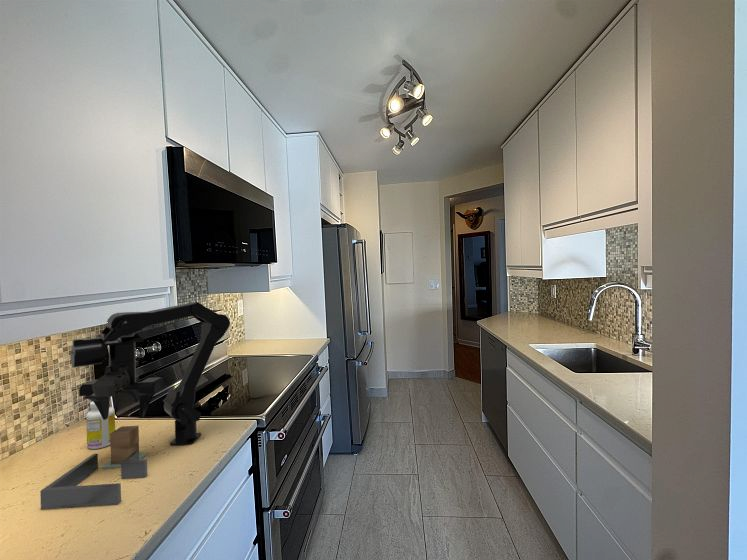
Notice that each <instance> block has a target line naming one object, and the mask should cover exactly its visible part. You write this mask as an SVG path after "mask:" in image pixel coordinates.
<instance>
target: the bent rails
mask: <svg viewBox="0 0 747 560" xmlns="http://www.w3.org/2000/svg"><path fill="white" fill-rule="evenodd" d="M139 453H140V450H139V451H134V452H133V453H132V454H131V455H130V456H128V457H127V458H126V459H125V460H124V461H122V462H121V468H120V479H121V480H124V479H125V480H127V479H130V480H131V479H144V478H146V477H147V476H148V459H146V458H145V459H144V458H142V459H141V460H139ZM97 470H99V453H92V454H91V455H89V456H88V457H86V459H84V460H82V461H81V462H80V463H78V464H77V465H75V466H74V467H72V468H71V469H70V470H68V471H67V472H65V473H64V474H62V475H60V476H59V477H58V478H56V479H55V480H53V481H52V482H51V483H49V484H48V485H46V486H45V487H44V488H42V489H41V490H40V492H39V493H40V494H39V495H40V510H41V511H42V510H55V509H58V510H59V509H71V508H72V509H73V508H86V507H98V506H99V507H100V506H112V505H113V506H114V505H115V506H118V505H119V504H120V503H121V502H122V483H104V484H88V485H85V484H83V485H79V484H81V483H82V482H83V481H84V480H86V479H87V478H88V477H90V476H91V475H92V474H93V473H95V472H96V471H97Z"/></svg>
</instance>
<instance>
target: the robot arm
mask: <svg viewBox="0 0 747 560" xmlns="http://www.w3.org/2000/svg"><path fill="white" fill-rule="evenodd" d="M188 317H193V318H194V319H195V320H197V321H198V322H200V323H201V324H202V325H201V329H200V339H199V342H198V344H197V346H196V347H195V351H194V352H193V355H192V357H191V359H190V361H189V363H188V365H187V367H186V370H185V371H184V374H183V376H182V379H181V380H180V382H179V384H178V385H176V387H175V388H172V387H169V389H168V391H167V394H166V397H165V398H164V399H163V400H162V402H164V404H163V409H164V412H165V413H166V414H168V415H169V416H170V417H172V419H174V439H173V440H172V441H171V442H169V445H170V446H178V445H192V444H194V443H195V442H196V441H197V440H198V439H199V438H200V436H201V435H202V432H197V431H198V430H197V422H198V421H200V419H201V417H202V416H201V415H202V412H200V411H199V410H198V409H196V408H194V405H195V400H196V390H197V389H196V388H197V385H199V382H200V379H201V377H202V375H203V374H204V371H205V369H206V366H207V364H208V362H209V360H210V357H211V355H212V353H213V350H214V349H215V346H216V344H217V343H218V342H219V341H220V340H221V339H222V338H223V337H224V335H225V334H226V332H227V331H228V330H229V327H230V325H231V321H230V319H229V317H228V316H227V315H226V314H220V313H218V312H215V311H214V310H212V309H210V308H208V307H206V306H204V305H203V304H202V303H200V302H198V301H197V302H196V301H190V302H187V303H184V304H178V305H174V306H168V307H167V306H166V307H164V308H163V307H162V308H159V309H153V310H148V311H125V312H122V311H121V312H116V313H113V314H111V315H110V316H109V317H108V318H107V320H106V326H105V327H104V328H103V329H102V331H101V332H100V333H99V334H98V335H97V336H96V337H94V338H93V337H92V338H91V337H90V338H76V339H73V340H72V345H71V351H70V363H71V365H70V366H71V368H72V369H75V368H80V367H87V366H94V365H100V364H102V363H103V361H106V359H108V366H106V367H105V369H104V375H101V376H100V377H99V378H98V379H92V380H89V381H87V382H85V383H83V384H81V385H80V386H79V388H78V396H79V397H83V398H84V399H85V400H89V401H91V402H92V401H93V402H94V403H95V405H96V406H97V408H98V410H99V412H100V414H101V416H102V418H103V420H106V419H107V418H108V414H109V406H110V405H109V403H110V404H111V397H114V396H116V395H117V394H118V392H119V391H125V390H127V391H130V390H132V391H133V390H137V392H138V393H139V394H137V395H136V397H137V398H138V400H139V404H138V405H139V406H138V408H139V410H138V412H139V418H140V419H143V418H144V416H145V415H146V412H147V410H148V408H149V405H150V403H151V401H152V399H153V397H154V396H155V394H156V393H157V392H159V391H161V389H163V388H165V385H166V384H165V379H164V378H163V377H161V376H160V377H159V376H158V377H147V378H146V379H143V380H142V381H139V380H140V377H139V375H137V370H136V368H137V366H138V365H140V364H139V362H140V361H139V360H136V358H137V356H136V354H137V353H136V343H140V342H144V341H145V338H143V337H142V336H140V335H139V333H138V332H140V331H142V330H144V329H146V328H148V327H150V326H153V325H157V324H161V323H166V322H169V321H174V320H179V319H184V318H188ZM107 322H108V323H107Z"/></svg>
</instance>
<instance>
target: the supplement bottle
mask: <svg viewBox="0 0 747 560" xmlns="http://www.w3.org/2000/svg"><path fill="white" fill-rule="evenodd" d="M110 404H111V402H110V403H109V414H108V418H107V419H106V420H103V418H102V416H101V414H100V412H99V410H98V408H97V406H96V405H95V403H94V402H93V401H91V402H90V403H89V408H90V410H89V411H88V412H87V414H86V415H85V422H86V423H85V424H86V425H85V427H86V446H87V448H88V449H90V450H98V449H104V448H106V447H108V446H110V434H111V433H112V432H114V431H115V430H116V412H115V408H114V407H112V406H110Z"/></svg>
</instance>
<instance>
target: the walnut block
mask: <svg viewBox="0 0 747 560" xmlns="http://www.w3.org/2000/svg"><path fill="white" fill-rule="evenodd" d="M109 446H110V460H111V464H121V462H122V461H124V460H125V459H126V458H127V457H128V456H130V455H131V454H132V453H133V452H134V451H139V452H140V431H139V425H127V426H124V425H123V426H119V427H118V428H117V429H115V431H114V432H112V433H111V434H110V445H109Z"/></svg>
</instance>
